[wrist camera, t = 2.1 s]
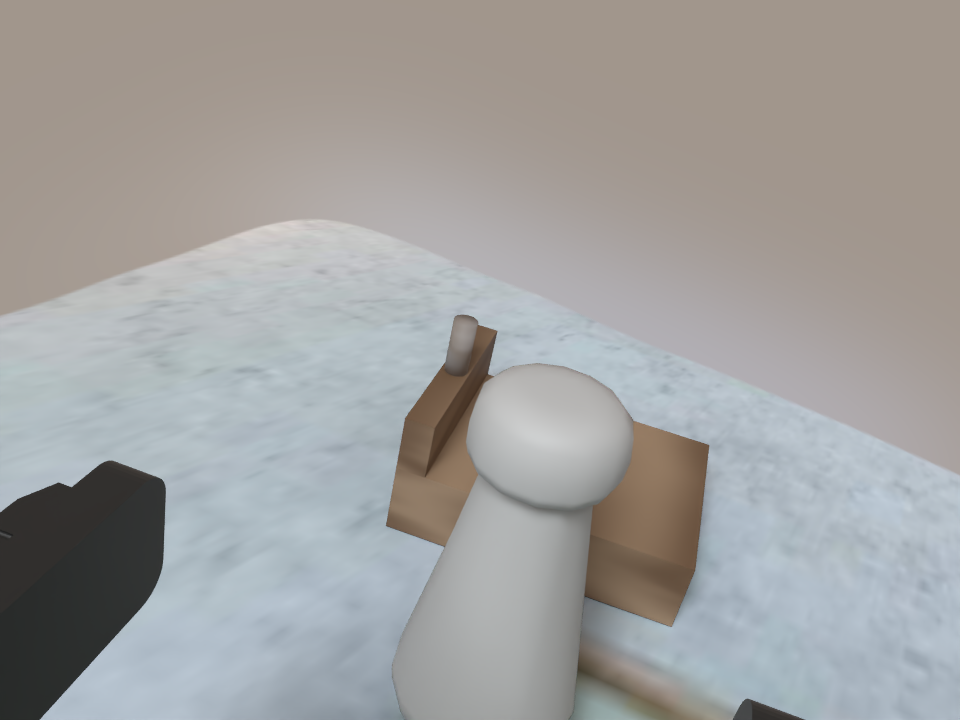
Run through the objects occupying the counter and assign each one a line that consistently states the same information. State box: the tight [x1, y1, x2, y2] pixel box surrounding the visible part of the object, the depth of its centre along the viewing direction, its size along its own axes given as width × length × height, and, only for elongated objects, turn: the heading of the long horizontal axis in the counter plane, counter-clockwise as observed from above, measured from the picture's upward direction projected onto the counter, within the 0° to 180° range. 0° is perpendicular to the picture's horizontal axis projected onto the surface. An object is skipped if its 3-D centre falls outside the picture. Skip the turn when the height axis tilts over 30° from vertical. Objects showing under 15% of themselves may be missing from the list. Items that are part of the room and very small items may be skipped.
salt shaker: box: [392, 363, 634, 720], centre depth 26 cm, size 6×6×13 cm
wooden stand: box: [386, 315, 709, 627], centre depth 37 cm, size 12×9×8 cm
